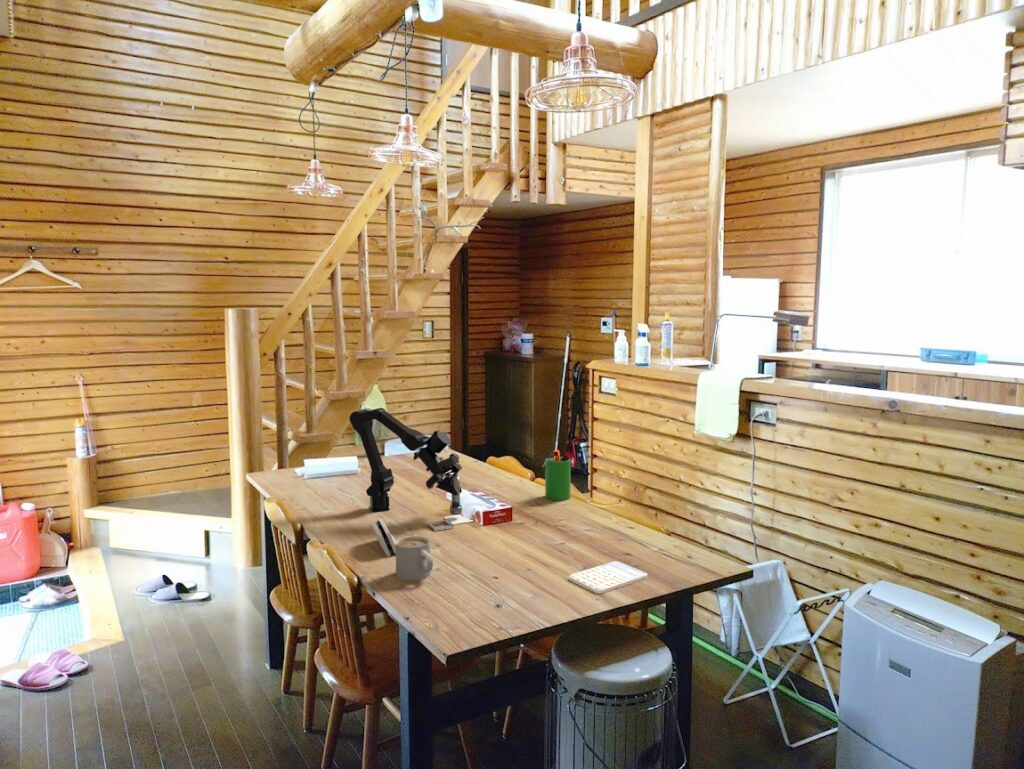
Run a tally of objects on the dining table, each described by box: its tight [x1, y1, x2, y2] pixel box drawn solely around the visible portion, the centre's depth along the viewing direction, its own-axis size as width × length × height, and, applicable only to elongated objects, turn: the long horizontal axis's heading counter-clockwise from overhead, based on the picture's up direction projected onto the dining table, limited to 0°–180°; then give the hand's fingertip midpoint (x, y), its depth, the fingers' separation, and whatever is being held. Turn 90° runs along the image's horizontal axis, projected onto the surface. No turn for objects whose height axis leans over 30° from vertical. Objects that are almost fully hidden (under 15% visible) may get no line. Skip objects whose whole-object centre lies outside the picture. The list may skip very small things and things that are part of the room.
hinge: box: [371, 518, 397, 557], centre depth 230 cm, size 17×5×10 cm, turn 21°
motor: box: [544, 449, 572, 501], centre depth 285 cm, size 10×9×20 cm
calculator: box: [568, 560, 648, 595], centre depth 204 cm, size 13×20×2 cm, turn 127°
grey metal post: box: [449, 475, 463, 516], centre depth 257 cm, size 4×4×14 cm
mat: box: [443, 514, 473, 526], centre depth 258 cm, size 9×9×1 cm
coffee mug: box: [395, 535, 434, 582], centre depth 206 cm, size 13×10×10 cm
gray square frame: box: [427, 519, 455, 532], centre depth 250 cm, size 7×7×1 cm
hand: (458, 493), depth 257 cm, fingers closed on grey metal post, 3 cm apart
